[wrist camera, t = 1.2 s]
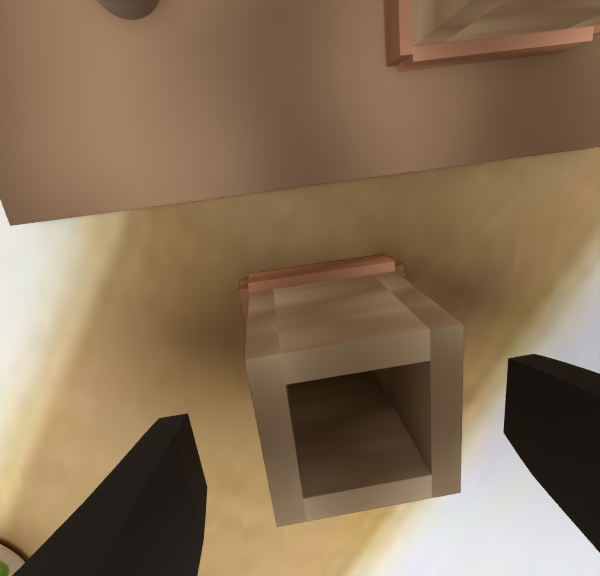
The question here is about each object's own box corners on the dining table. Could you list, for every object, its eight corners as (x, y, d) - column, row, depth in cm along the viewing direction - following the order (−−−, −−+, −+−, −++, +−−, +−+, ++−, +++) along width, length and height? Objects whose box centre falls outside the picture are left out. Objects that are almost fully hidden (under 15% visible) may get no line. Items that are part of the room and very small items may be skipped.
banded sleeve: (392, 252, 12) (479, 307, 7) (398, 384, 14) (472, 499, 9) (239, 275, 12) (226, 348, 7) (263, 407, 13) (266, 539, 9)
